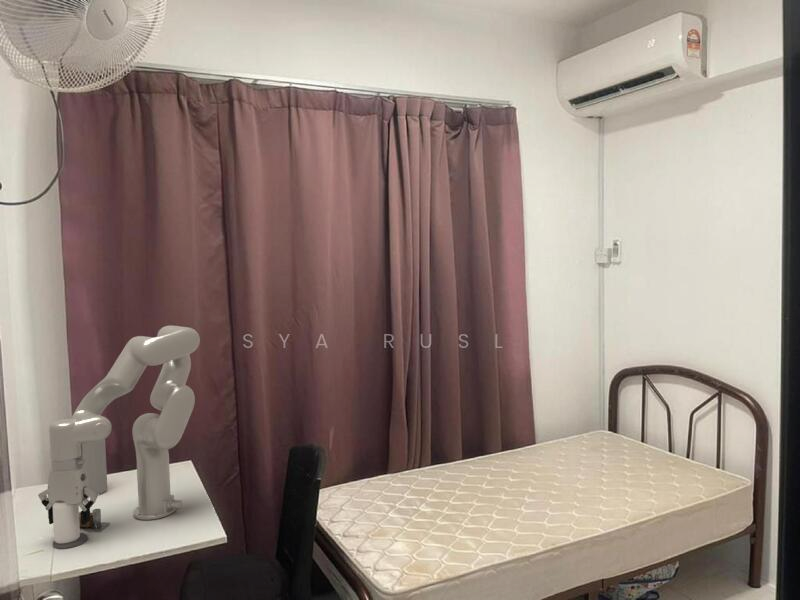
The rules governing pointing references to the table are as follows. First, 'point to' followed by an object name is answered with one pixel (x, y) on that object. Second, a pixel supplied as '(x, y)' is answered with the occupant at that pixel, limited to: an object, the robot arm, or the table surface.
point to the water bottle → (95, 465)
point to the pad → (79, 541)
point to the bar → (87, 522)
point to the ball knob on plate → (97, 522)
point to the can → (66, 522)
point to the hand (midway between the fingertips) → (69, 522)
